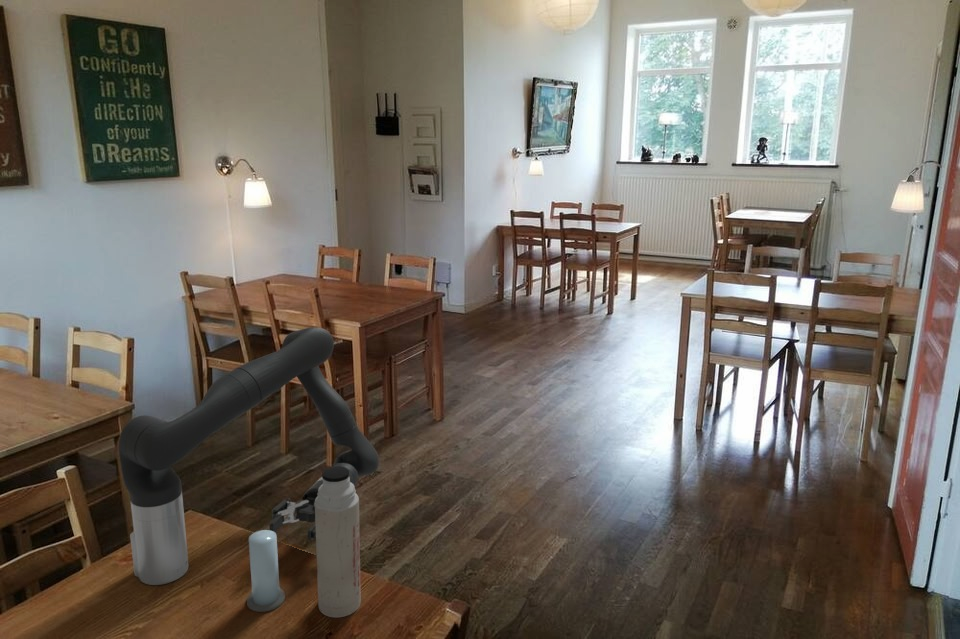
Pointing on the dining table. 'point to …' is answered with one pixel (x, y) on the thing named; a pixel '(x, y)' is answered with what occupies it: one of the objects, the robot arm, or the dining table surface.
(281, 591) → the coaster
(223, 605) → the dining table surface
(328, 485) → the thermos bottle
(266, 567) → the tall pale blue cylinder
